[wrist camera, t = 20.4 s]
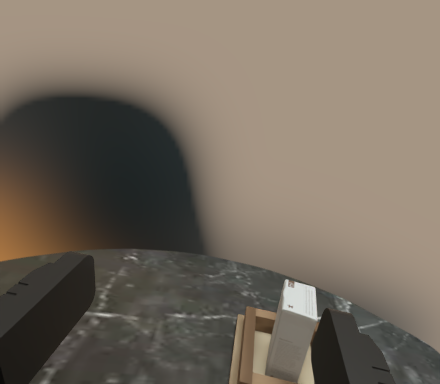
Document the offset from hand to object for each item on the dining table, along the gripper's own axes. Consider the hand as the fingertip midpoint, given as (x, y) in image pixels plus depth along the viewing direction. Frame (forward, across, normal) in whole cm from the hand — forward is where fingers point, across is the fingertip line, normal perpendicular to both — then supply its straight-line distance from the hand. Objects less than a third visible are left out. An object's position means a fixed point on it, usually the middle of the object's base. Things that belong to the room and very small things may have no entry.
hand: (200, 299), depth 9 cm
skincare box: (+21, -10, +29) cm, 37 cm away
